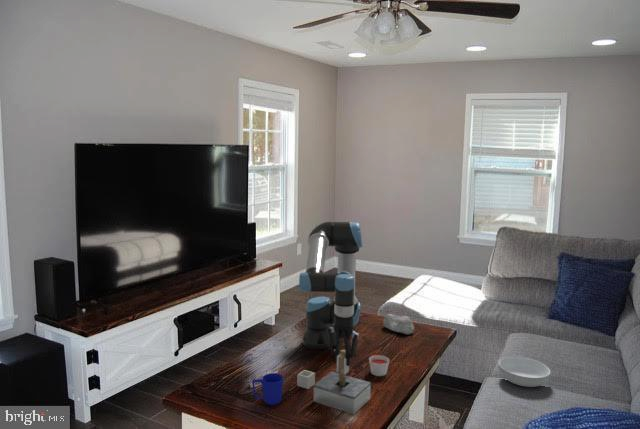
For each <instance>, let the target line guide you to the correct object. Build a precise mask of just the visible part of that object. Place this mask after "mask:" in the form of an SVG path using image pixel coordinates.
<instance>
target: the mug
mask: <svg viewBox="0 0 640 429" xmlns="http://www.w3.org/2000/svg"><path fill="white" fill-rule="evenodd" d="M251 383H252V391H253V395H254V397H255V398H256V399H260V400H261V399H262V398H263V400H264V403H265V404H267V405H269V406H270V405H271V406H274V405H275V406H276V405H278V404H279V403H281V401H282V397H283V388H284V387H283V385H284V376H283V375H282V374H280V373H276V372H273V373H272V372H271V373H265V375H263V376H262V379H261V378H260V379H258V378H257V379H253V380H252V382H251ZM255 383H260V384H261V387H262V395H257V393H256V388H255Z"/></svg>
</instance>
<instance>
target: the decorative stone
mask: <svg viewBox="0 0 640 429" xmlns="http://www.w3.org/2000/svg"><path fill="white" fill-rule="evenodd" d="M382 321H383V325H384V327H385V328H387V329H389V330H390V331H393V332H395V333H396V332H397V333H400V334H404V335H411V334H413V332H414V331H415V326H414V324H413V322H412V319H411V318H410V317H409V316H406V315H403V316H399V315H395V314H394V313H393V314H391V313H388V314H386V315H385V317H384V319H383V320H382Z"/></svg>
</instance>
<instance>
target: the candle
mask: <svg viewBox="0 0 640 429" xmlns="http://www.w3.org/2000/svg"><path fill="white" fill-rule="evenodd" d="M368 361H369V362H368V363H369V368H370V374H372V375H374V376H376V377H384V376H386V375H387V373H388V369H389V364H390V358H389V357H387V356H385V355H378V354H377V355H376V354H375V355H372V356H370V357H369V358H368Z"/></svg>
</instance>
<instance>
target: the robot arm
mask: <svg viewBox="0 0 640 429" xmlns="http://www.w3.org/2000/svg"><path fill="white" fill-rule="evenodd" d="M362 235H363V234H362V227H361V224H360V223H359V222H353V221H324V222H322V223H319V224H318V225H316V226H315V227H314V228H313V229H312V231H311V232H310V233H309V235H308V238H307V244H308V252H307V253H308V255H307V260H306V268H305V272H300V274H299V278H298V279H299V280H298V286H299V290H300V291H303V292H308V293H311V292H313V293H315V292H316V293H317V292H318V293H319V292H321V293H322V292H325V293H334V299H333V300H331V298H330V297H328V296H316V297H312V298H310V299H308V301H307V302H306V309H305V311H306V313H305V314H306V315H305V316H306V317H305V320H306V321H305V323H306V324H305V331H304V334H303V337H302V346H304V347H305V348H307V349H310V350H311V349H312V350H324V349H328V348H329V349H330V353H332V354H334V362H335V363H336V373H339V361H340V350H342V349H341V348H342V342H344V348H345V349H344V350H345V352H346V357H345V358H344V374H346V375H347V374H348V373H350V366H351V364H352V359H353V358H354V357H355V356H356V354H357V349H358V348H357V347H358V342H359V341H358V340H359V338H360V336H361V334H360V333H359V332H356V331H355V329H354V328H355V327H354V326H356V325H357V324H358V323H359V318H360V313H361V302H360V301H358V298H357V297H356V294H355V293H356V269H357V268H356V261H357V260H356V257H357V253H359V252H360V249H361V248H362V247H363V238H362ZM328 247H334V250H335V252H336V253H337V272H336V273H333V272H331V273H329V272H325V264H326V254H327V253H326V251H327V248H328ZM330 325H332V326H330ZM351 336H352V337H351ZM351 338H352V339H351ZM351 340H352V341H351Z"/></svg>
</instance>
